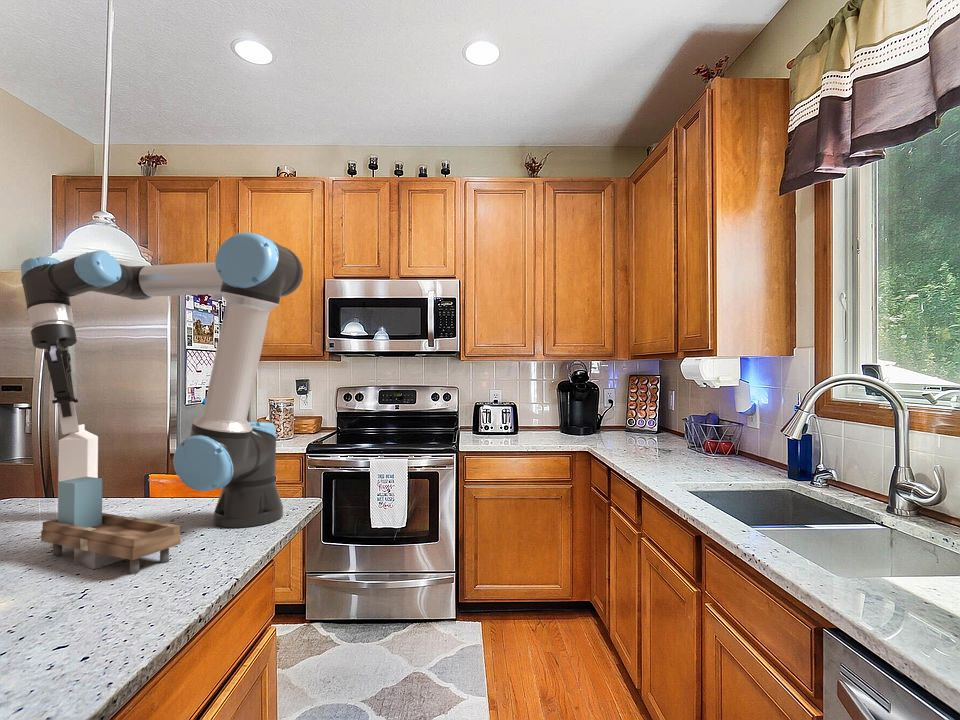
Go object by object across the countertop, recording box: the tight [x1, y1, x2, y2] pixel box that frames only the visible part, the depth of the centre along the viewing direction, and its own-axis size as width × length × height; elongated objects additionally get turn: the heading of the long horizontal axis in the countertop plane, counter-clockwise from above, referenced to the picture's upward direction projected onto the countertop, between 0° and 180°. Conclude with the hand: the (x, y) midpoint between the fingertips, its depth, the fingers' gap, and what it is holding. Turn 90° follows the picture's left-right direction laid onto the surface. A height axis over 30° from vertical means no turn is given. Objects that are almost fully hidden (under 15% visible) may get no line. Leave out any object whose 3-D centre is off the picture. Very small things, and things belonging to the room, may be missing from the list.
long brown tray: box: [40, 512, 182, 575], centre depth 99 cm, size 26×9×7 cm, turn 67°
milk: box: [57, 423, 99, 482], centre depth 128 cm, size 6×6×22 cm
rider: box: [57, 477, 103, 528], centre depth 103 cm, size 5×5×9 cm
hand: (70, 432), depth 111 cm, fingers closed
